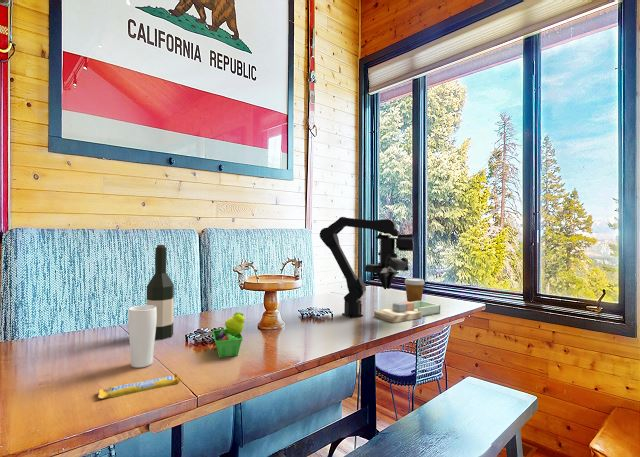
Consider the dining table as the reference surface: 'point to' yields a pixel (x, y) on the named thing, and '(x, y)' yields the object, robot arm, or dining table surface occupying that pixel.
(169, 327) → the wine bottle
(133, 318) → the drinking glass
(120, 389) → the candy bar
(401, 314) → the board
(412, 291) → the disposable coffee cup
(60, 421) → the dining table surface
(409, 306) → the terracotta tile
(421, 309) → the tray
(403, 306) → the slate tile
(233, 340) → the fruit basket
